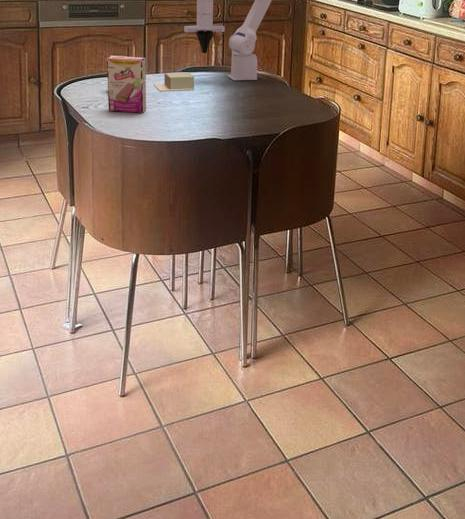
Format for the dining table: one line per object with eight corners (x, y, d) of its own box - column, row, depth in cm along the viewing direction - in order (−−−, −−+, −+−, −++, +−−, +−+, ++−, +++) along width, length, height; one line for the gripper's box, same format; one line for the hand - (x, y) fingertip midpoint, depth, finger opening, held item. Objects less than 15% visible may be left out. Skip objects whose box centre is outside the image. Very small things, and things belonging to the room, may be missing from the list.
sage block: (188, 72, 262) (164, 73, 259) (194, 76, 256) (168, 77, 253) (188, 83, 264) (164, 84, 261) (193, 88, 258) (169, 89, 255)
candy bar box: (108, 111, 227) (105, 58, 220) (112, 107, 232) (109, 55, 224) (143, 113, 226) (142, 60, 219) (146, 109, 231) (145, 56, 223)
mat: (186, 83, 265) (186, 82, 265) (193, 90, 256) (193, 89, 256) (153, 84, 261) (153, 84, 261) (159, 91, 253) (159, 90, 253)
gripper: (188, 15, 253) (187, 55, 259) (227, 14, 257) (226, 54, 263) (182, 12, 259) (182, 51, 265) (221, 12, 263) (220, 50, 269)
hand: (204, 52), depth 264 cm, fingers closed
